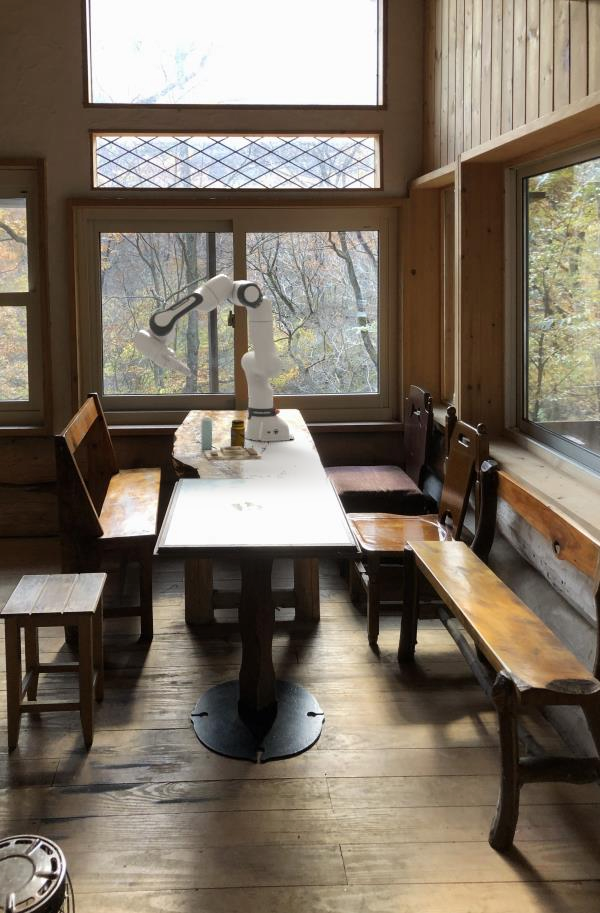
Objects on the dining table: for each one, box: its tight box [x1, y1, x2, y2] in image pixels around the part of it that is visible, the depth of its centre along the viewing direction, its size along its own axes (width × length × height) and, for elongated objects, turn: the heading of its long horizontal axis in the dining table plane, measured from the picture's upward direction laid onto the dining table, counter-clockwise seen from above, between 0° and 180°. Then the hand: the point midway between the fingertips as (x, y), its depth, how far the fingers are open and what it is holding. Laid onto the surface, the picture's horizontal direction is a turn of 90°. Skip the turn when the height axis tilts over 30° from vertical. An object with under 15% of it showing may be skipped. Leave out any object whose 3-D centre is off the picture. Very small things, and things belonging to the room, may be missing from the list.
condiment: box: [228, 419, 246, 450], centre depth 392 cm, size 7×8×12 cm
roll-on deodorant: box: [200, 415, 213, 452], centre depth 384 cm, size 4×4×15 cm
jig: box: [203, 446, 263, 460], centre depth 376 cm, size 22×13×3 cm, turn 104°
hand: (192, 376), depth 383 cm, fingers open, 8 cm apart
